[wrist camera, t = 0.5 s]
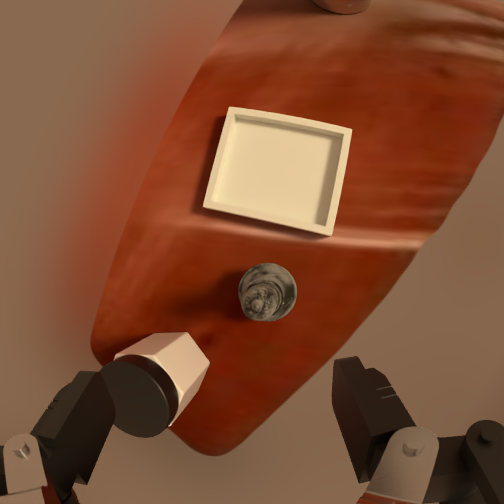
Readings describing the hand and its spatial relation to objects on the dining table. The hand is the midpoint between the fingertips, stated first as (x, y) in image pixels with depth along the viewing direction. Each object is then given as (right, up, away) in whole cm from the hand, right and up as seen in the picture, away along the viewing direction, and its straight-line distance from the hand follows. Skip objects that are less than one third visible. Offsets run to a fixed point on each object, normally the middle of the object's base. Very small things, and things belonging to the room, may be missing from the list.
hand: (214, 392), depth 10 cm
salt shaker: (+3, +1, +25) cm, 26 cm away
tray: (+4, +14, +25) cm, 29 cm away
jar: (-8, -9, +27) cm, 30 cm away
